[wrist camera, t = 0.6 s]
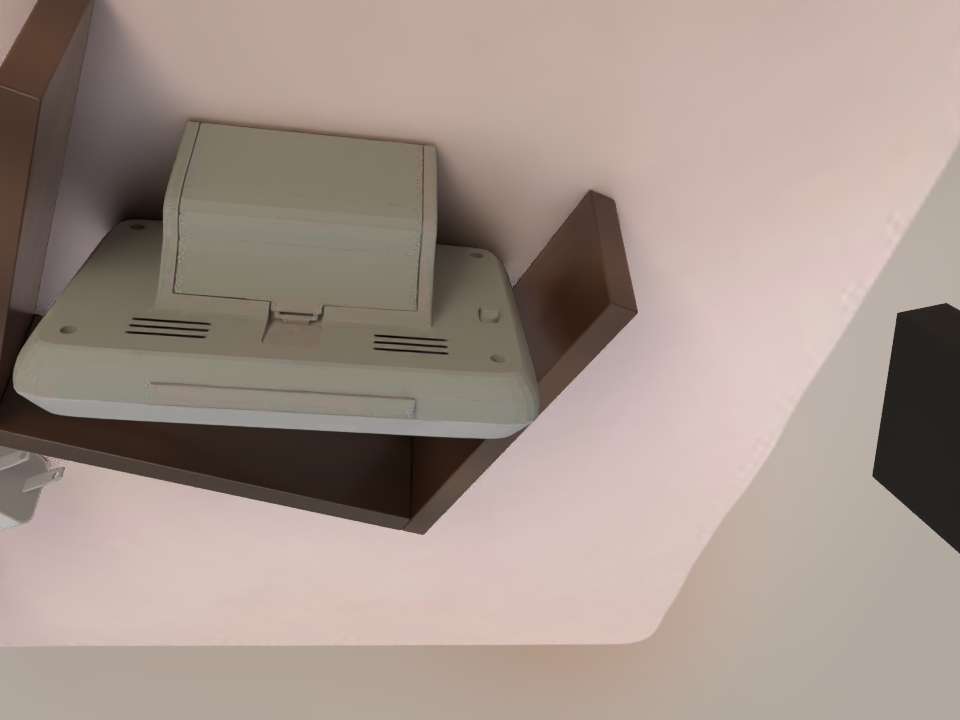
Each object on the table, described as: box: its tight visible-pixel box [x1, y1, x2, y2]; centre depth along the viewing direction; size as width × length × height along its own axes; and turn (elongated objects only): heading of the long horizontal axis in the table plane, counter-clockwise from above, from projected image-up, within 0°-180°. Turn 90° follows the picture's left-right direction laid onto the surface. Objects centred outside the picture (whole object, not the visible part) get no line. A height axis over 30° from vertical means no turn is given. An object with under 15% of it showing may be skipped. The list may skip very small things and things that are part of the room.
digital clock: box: [13, 121, 540, 439], centre depth 30 cm, size 16×9×11 cm, turn 70°
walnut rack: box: [0, 0, 638, 535], centre depth 34 cm, size 18×20×6 cm
